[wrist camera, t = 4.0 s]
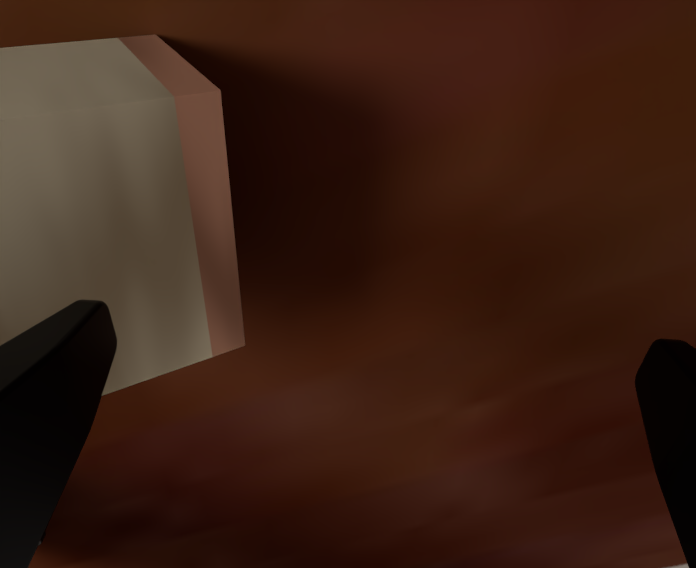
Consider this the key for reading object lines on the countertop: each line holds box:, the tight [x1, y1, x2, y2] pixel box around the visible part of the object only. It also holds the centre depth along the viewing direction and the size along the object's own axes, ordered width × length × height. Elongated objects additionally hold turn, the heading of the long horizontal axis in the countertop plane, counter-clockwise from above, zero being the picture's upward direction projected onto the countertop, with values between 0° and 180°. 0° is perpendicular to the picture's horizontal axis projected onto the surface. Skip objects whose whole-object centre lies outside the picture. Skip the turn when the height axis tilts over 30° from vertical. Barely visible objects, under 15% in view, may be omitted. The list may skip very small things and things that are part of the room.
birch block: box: [0, 35, 245, 395], centre depth 11 cm, size 6×4×8 cm
